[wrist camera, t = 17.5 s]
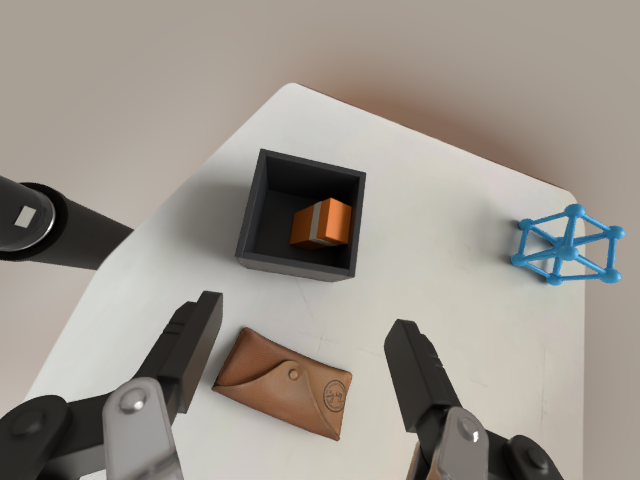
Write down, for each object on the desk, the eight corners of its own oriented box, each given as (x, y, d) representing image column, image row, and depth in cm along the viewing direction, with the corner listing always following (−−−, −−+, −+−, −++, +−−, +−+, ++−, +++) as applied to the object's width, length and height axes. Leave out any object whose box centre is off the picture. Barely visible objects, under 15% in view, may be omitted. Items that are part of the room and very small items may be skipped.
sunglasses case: (356, 371, 36) (361, 414, 29) (335, 404, 37) (336, 452, 31) (241, 323, 34) (221, 358, 28) (226, 360, 36) (203, 400, 30)
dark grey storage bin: (246, 268, 37) (234, 257, 26) (264, 186, 40) (260, 148, 29) (333, 282, 38) (354, 277, 28) (343, 203, 42) (366, 172, 31)
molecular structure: (559, 241, 48) (630, 228, 39) (551, 287, 45) (625, 285, 36) (517, 218, 48) (577, 199, 38) (506, 263, 45) (569, 255, 35)
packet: (288, 244, 36) (325, 236, 29) (294, 212, 37) (330, 197, 30) (309, 250, 38) (348, 243, 31) (314, 219, 39) (352, 206, 32)
